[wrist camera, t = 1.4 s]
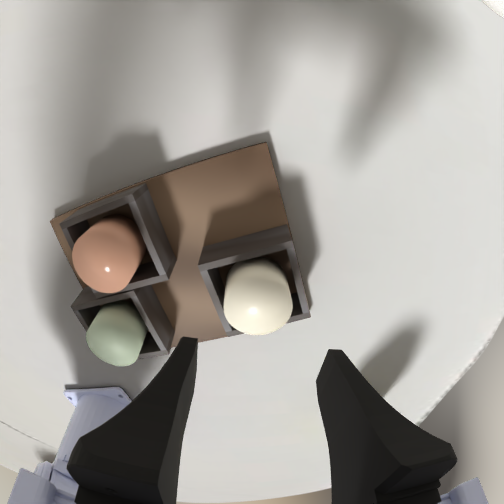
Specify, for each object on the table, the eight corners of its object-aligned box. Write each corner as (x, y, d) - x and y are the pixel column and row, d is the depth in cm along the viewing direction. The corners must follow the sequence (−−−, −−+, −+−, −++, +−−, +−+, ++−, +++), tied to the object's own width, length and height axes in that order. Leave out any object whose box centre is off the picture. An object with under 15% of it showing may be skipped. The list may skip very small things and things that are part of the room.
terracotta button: (155, 262, 18) (143, 285, 16) (107, 276, 18) (90, 298, 16) (131, 206, 16) (114, 222, 14) (82, 224, 17) (61, 242, 14)
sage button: (157, 336, 20) (148, 363, 18) (115, 344, 21) (104, 368, 18) (133, 294, 19) (120, 318, 17) (91, 304, 19) (76, 328, 17)
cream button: (292, 299, 19) (298, 326, 17) (236, 313, 20) (235, 341, 17) (279, 248, 18) (284, 271, 15) (217, 264, 18) (213, 289, 16)
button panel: (309, 311, 22) (316, 339, 19) (125, 350, 23) (115, 376, 21) (266, 141, 17) (269, 147, 14) (54, 218, 18) (30, 234, 16)
